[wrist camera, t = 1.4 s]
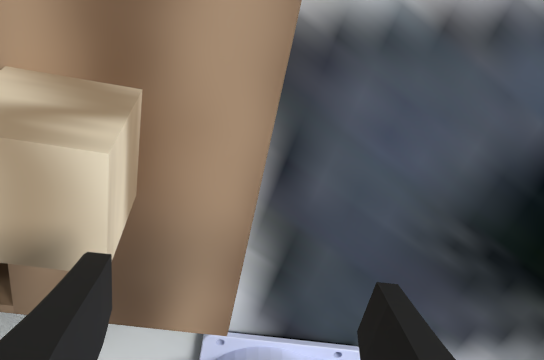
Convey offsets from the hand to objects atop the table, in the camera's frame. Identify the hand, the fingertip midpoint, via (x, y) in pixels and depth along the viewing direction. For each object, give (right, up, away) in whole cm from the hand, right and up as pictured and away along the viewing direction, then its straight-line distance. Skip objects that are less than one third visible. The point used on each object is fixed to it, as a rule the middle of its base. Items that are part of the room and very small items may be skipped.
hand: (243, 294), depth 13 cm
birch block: (-6, +5, +4) cm, 9 cm away
